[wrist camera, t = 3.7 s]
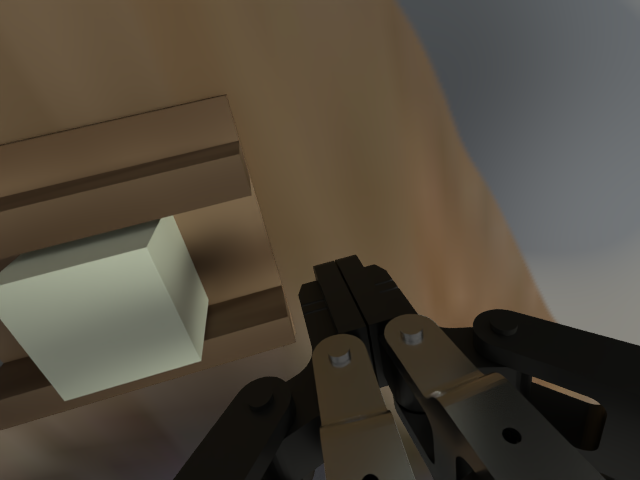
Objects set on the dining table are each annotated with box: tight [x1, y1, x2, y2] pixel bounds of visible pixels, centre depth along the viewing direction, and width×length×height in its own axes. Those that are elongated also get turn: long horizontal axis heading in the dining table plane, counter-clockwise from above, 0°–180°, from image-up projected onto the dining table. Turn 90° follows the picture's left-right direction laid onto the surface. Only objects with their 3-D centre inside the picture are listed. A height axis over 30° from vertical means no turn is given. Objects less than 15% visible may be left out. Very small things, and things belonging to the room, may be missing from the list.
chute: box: [0, 95, 296, 430], centre depth 15 cm, size 12×13×3 cm
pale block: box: [0, 215, 209, 401], centre depth 14 cm, size 5×5×4 cm
